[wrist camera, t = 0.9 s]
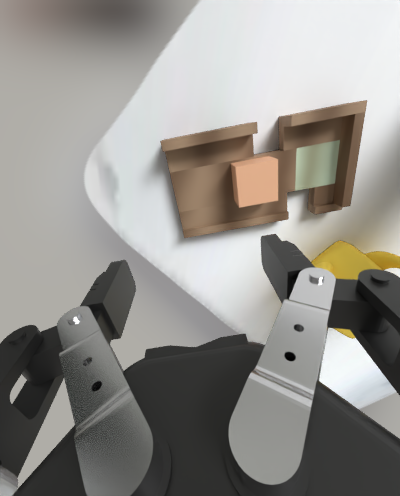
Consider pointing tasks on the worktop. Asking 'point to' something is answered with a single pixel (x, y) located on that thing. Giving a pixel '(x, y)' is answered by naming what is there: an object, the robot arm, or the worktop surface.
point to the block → (255, 181)
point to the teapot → (352, 264)
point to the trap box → (289, 156)
